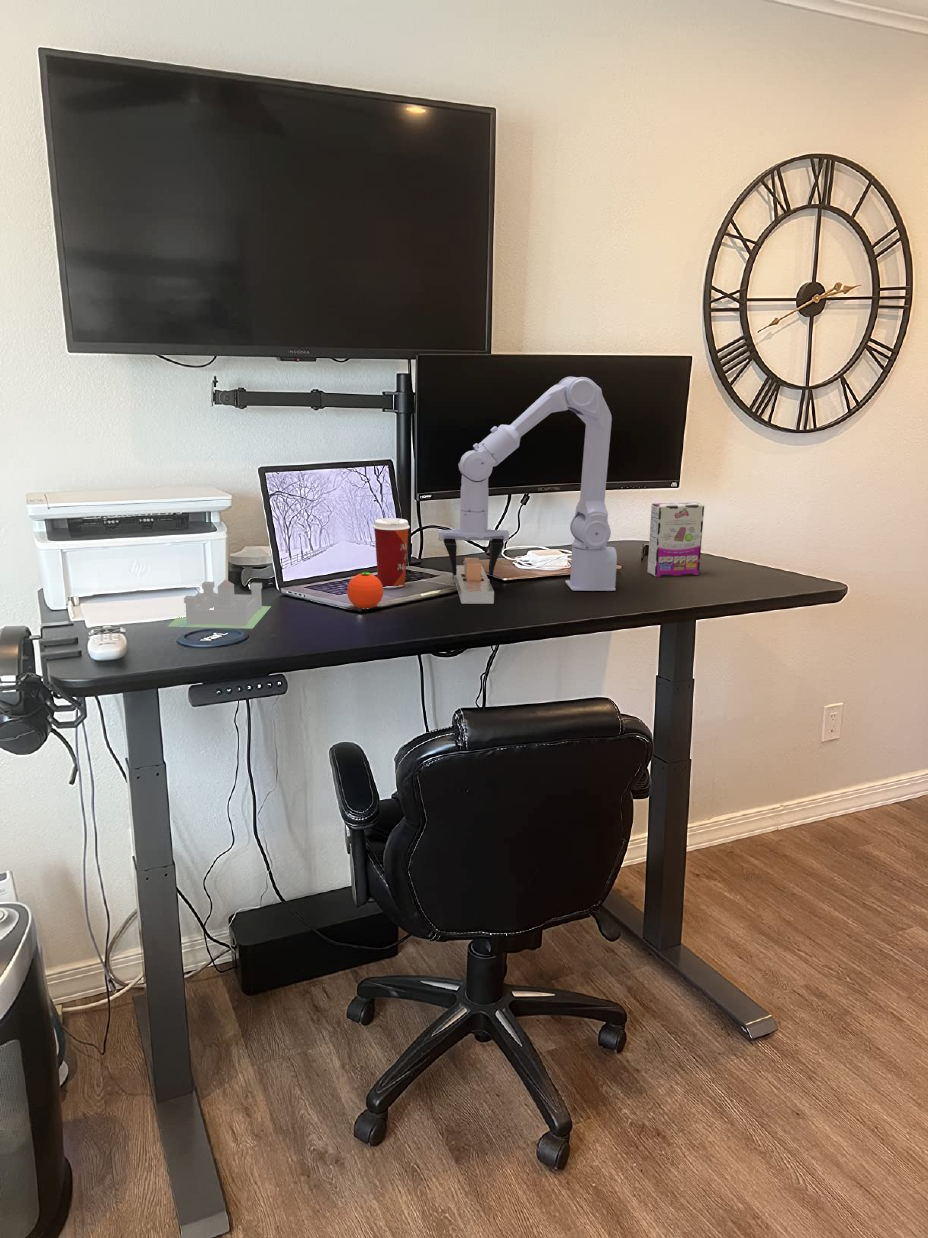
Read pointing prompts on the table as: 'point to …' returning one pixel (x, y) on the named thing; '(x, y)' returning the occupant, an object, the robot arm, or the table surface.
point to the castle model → (222, 608)
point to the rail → (474, 588)
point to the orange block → (472, 569)
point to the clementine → (365, 590)
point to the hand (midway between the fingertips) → (472, 574)
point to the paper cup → (391, 550)
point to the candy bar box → (675, 539)
